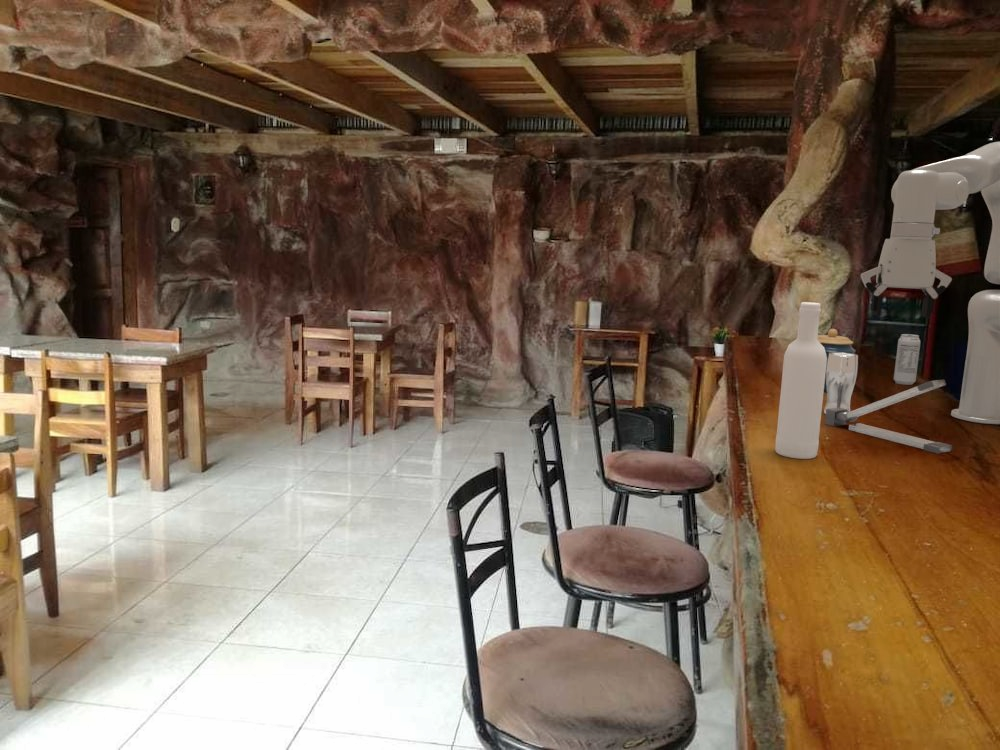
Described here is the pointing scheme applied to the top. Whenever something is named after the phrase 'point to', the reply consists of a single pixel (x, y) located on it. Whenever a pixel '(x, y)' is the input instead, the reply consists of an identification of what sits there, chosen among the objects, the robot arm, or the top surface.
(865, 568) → the top surface
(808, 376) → the bottle
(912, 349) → the energy drink can
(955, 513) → the top surface
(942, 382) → the upper jaw
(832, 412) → the tongs base
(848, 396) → the beer glass
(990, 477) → the top surface
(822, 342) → the canister
